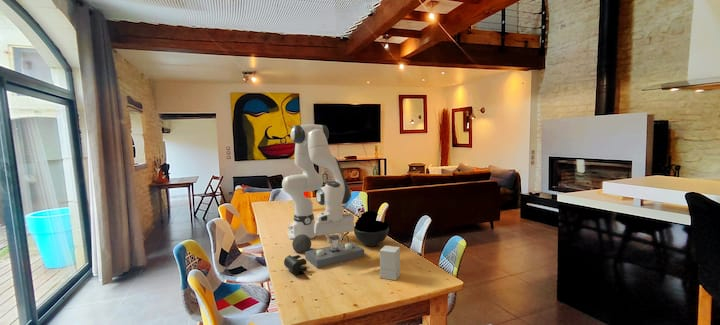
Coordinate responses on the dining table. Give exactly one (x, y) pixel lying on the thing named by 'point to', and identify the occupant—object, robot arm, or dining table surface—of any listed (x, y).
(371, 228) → the coal bowl
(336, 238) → the steel plug
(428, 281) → the dining table surface
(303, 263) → the end cap
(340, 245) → the block
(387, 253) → the supplement box
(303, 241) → the decorative ball
